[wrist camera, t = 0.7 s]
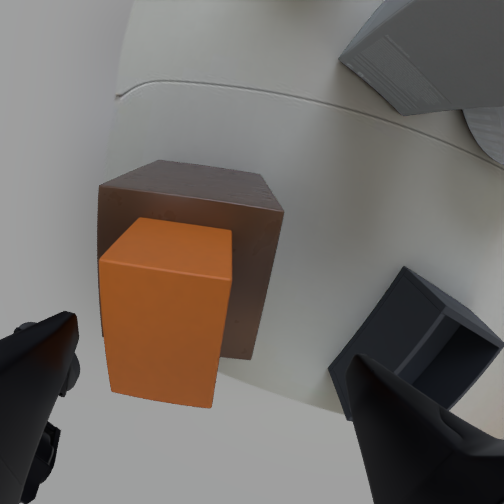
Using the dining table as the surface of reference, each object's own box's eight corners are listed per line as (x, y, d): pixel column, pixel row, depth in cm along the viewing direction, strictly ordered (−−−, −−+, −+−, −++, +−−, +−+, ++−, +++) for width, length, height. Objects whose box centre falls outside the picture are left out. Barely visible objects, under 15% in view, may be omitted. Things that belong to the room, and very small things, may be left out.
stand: (243, 269, 23) (251, 360, 14) (149, 255, 22) (101, 337, 13) (261, 174, 21) (285, 211, 11) (157, 159, 20) (98, 184, 10)
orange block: (215, 339, 13) (211, 409, 9) (136, 327, 13) (110, 392, 9) (232, 229, 11) (232, 279, 8) (138, 216, 11) (97, 258, 7)
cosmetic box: (399, 117, 19) (592, 138, 5) (325, 52, 17) (484, -48, 3) (447, 49, 17) (606, 30, 2) (382, -13, 15) (519, -98, 1)
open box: (404, 390, 30) (427, 431, 24) (327, 368, 27) (346, 420, 21) (469, 309, 26) (505, 344, 20) (403, 265, 24) (446, 305, 18)
